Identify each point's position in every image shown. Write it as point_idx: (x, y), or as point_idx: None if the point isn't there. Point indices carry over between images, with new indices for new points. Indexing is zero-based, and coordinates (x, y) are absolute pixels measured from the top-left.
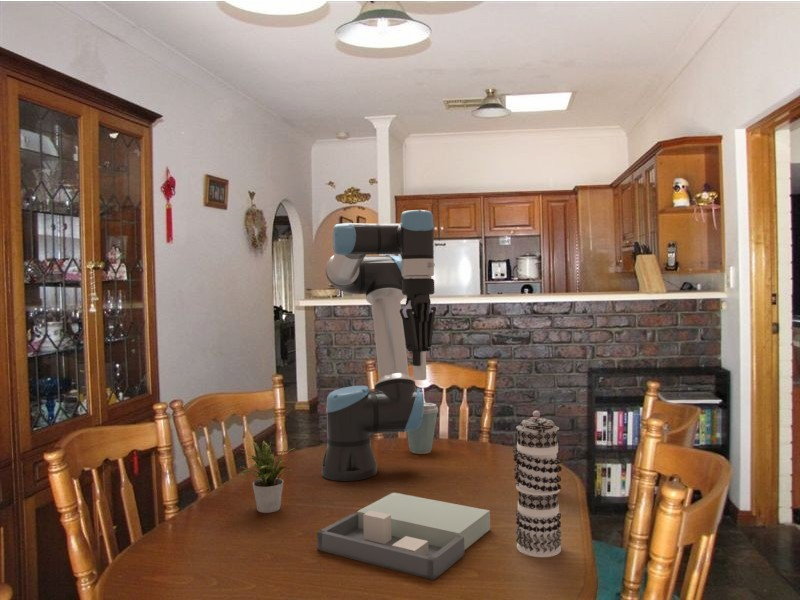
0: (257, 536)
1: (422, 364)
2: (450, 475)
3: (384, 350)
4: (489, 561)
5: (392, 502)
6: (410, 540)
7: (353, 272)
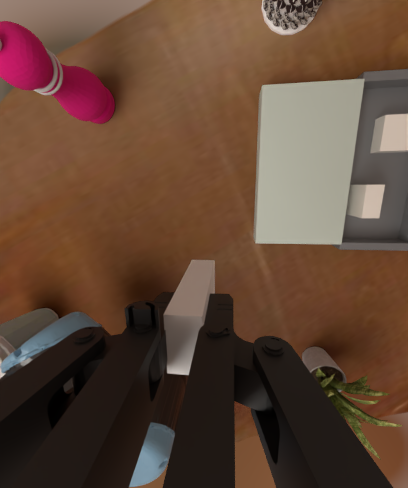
0: (391, 320)
1: (209, 286)
2: (107, 240)
3: None
4: (357, 42)
5: (291, 223)
6: (391, 137)
7: None
